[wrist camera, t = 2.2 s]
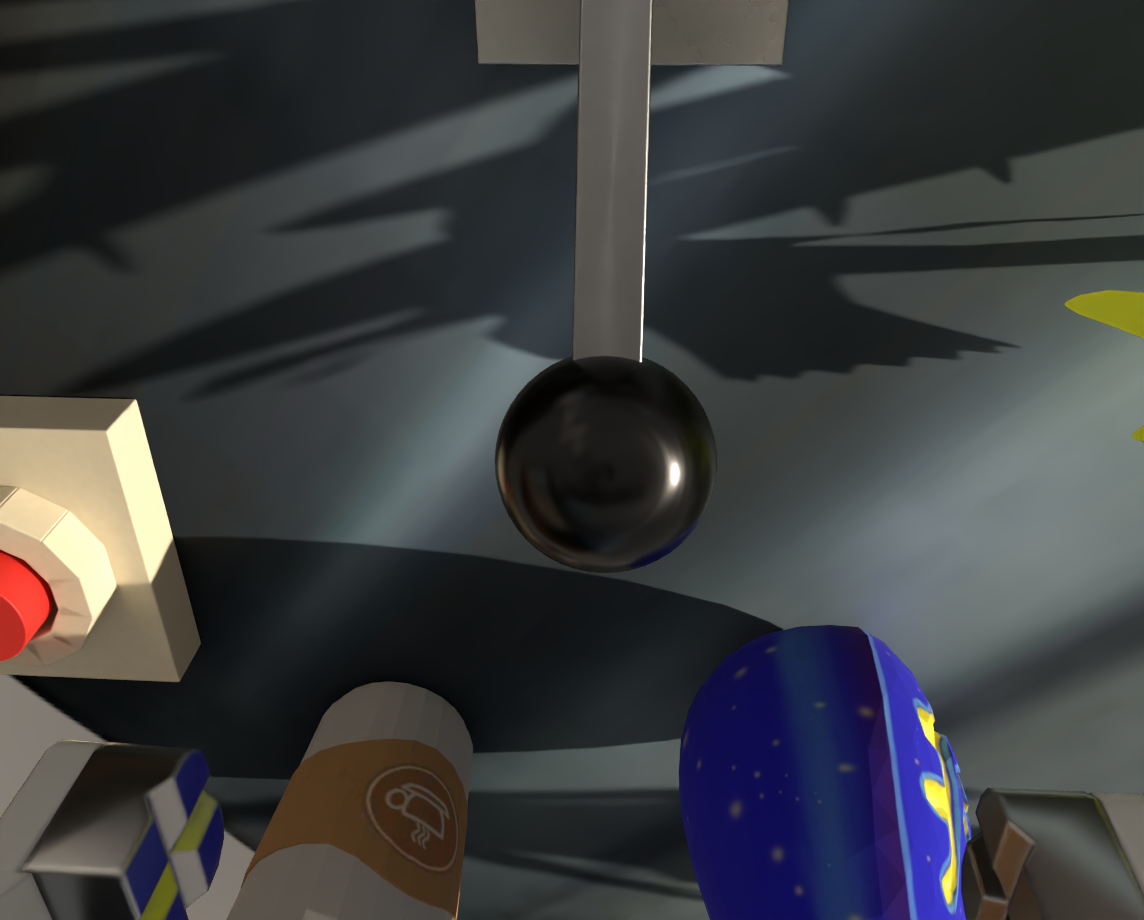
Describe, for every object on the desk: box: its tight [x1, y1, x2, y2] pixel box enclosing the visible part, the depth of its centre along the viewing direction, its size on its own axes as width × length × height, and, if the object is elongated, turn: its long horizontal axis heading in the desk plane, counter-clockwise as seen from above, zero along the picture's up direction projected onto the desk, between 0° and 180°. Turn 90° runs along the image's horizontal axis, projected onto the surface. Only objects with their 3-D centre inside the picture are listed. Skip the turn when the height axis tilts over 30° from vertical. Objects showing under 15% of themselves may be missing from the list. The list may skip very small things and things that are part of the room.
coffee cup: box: [227, 681, 473, 920], centre depth 36 cm, size 8×8×15 cm
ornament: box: [679, 625, 971, 920], centre depth 32 cm, size 11×9×15 cm
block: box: [0, 396, 201, 682], centre depth 36 cm, size 11×9×4 cm
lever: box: [495, 0, 717, 573], centre depth 16 cm, size 13×4×4 cm, turn 1°
